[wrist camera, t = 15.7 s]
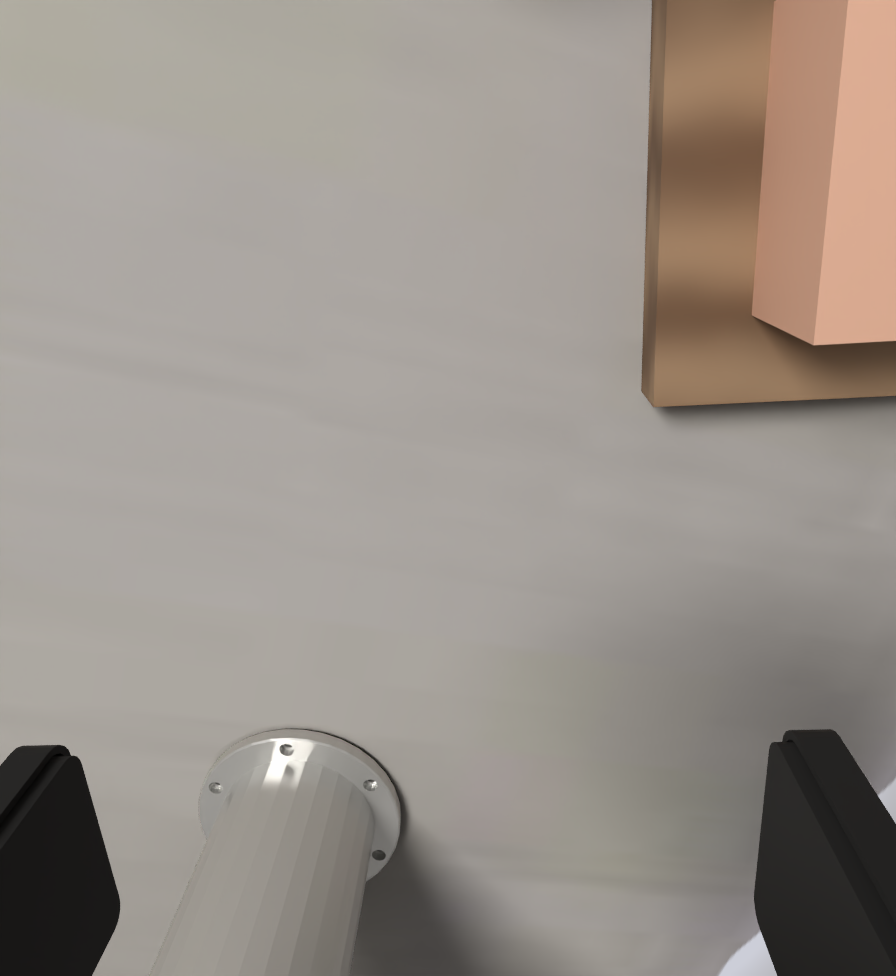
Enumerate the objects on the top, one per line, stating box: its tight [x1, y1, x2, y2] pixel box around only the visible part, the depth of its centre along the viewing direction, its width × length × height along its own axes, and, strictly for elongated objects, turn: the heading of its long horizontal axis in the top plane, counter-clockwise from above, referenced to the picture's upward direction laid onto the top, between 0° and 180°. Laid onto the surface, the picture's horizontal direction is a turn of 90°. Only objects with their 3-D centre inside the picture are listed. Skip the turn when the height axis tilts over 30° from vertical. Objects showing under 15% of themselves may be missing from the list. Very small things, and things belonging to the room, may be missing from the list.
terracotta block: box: [752, 0, 896, 345], centre depth 29 cm, size 4×12×7 cm, turn 4°
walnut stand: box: [642, 0, 896, 407], centre depth 34 cm, size 20×13×3 cm, turn 3°
